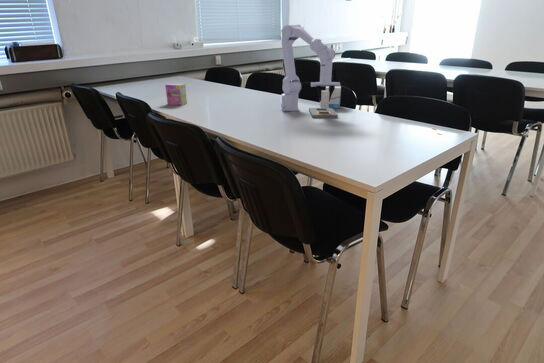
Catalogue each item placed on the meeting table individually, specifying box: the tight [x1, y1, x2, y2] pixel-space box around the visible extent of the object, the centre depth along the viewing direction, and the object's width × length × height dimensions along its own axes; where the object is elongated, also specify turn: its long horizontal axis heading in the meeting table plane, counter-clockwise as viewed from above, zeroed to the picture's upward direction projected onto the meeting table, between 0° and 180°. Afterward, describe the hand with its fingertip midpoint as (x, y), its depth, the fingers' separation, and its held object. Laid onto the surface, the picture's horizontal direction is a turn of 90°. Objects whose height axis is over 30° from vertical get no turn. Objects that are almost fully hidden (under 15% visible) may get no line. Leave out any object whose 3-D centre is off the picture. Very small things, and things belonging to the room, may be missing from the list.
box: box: [164, 82, 188, 106], centre depth 224 cm, size 10×6×12 cm, turn 68°
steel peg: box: [319, 90, 329, 108], centre depth 193 cm, size 4×4×8 cm
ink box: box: [325, 85, 342, 110], centre depth 216 cm, size 8×8×12 cm
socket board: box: [308, 107, 339, 119], centre depth 200 cm, size 13×18×2 cm
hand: (324, 100), depth 193 cm, fingers closed on steel peg, 4 cm apart
